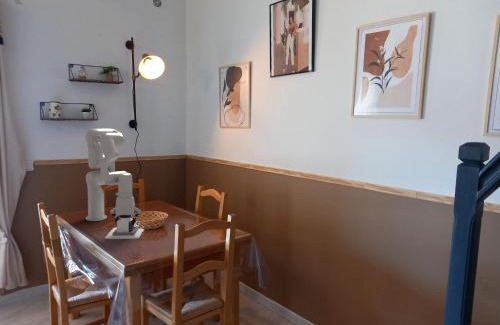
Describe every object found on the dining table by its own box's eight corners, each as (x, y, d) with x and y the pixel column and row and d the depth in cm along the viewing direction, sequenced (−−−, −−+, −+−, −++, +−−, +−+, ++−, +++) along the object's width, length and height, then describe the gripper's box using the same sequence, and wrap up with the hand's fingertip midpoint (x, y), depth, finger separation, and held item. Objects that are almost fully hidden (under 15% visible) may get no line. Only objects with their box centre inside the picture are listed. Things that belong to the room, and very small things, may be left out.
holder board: (114, 228, 205) (113, 225, 205) (144, 228, 207) (144, 224, 207) (104, 238, 187) (104, 234, 187) (138, 238, 190) (138, 234, 189)
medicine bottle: (128, 233, 194) (128, 213, 193) (116, 233, 194) (116, 212, 193) (134, 230, 201) (134, 210, 200) (122, 229, 201) (122, 209, 200)
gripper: (107, 196, 190) (108, 226, 192) (139, 196, 192) (139, 226, 194) (111, 193, 197) (111, 222, 199) (142, 193, 199) (142, 222, 202)
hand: (125, 224), depth 197 cm, fingers open, 8 cm apart
